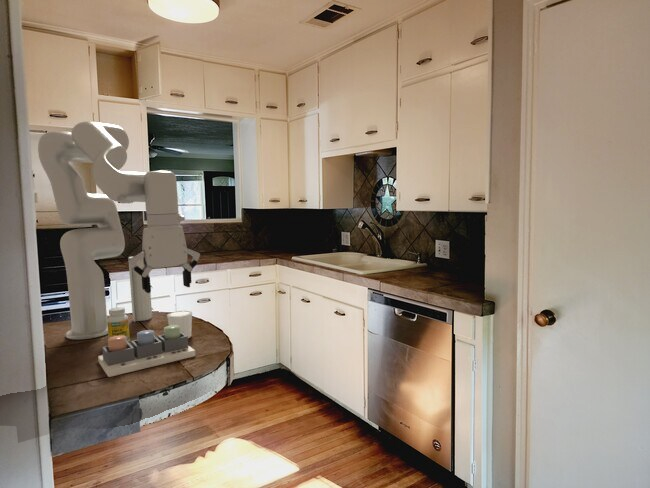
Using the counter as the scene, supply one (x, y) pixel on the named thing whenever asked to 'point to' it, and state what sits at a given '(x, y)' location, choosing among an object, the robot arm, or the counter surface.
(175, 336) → the button three
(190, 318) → the white tapered cup
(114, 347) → the button one
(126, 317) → the supplement bottle
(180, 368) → the counter surface
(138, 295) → the paper towel roll
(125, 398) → the counter surface
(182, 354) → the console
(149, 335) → the button two
